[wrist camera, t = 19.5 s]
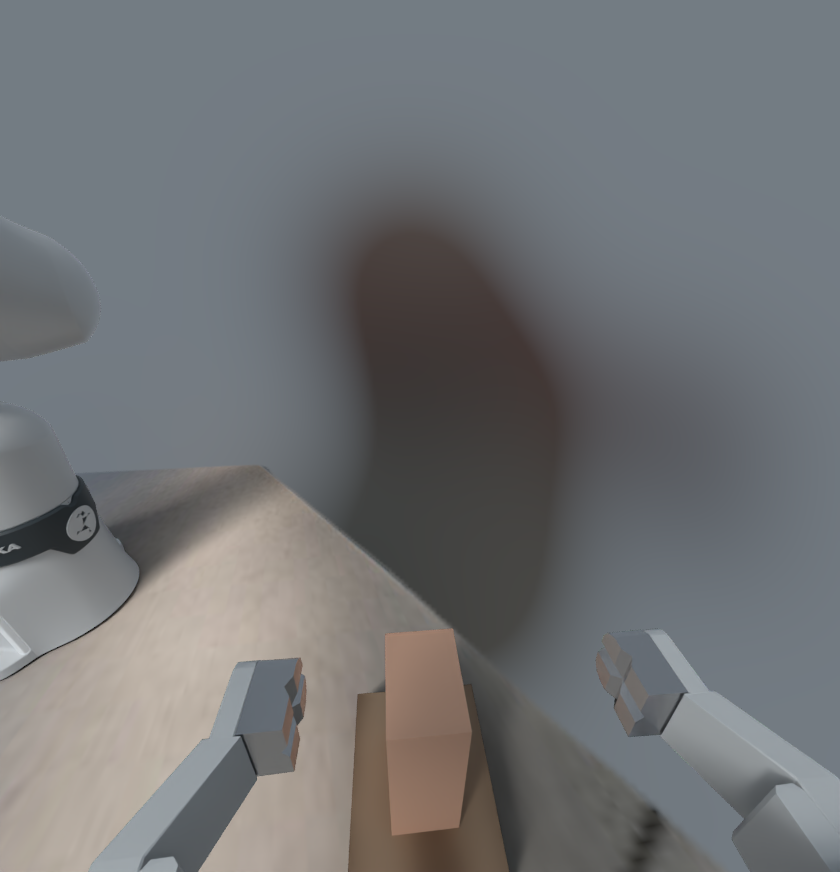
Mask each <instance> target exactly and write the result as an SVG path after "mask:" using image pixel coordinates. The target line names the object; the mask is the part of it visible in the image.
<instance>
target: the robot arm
mask: <svg viewBox="0 0 840 872" xmlns="http://www.w3.org/2000/svg"><path fill="white" fill-rule="evenodd" d="M100 312H101V311H100V299H99V294H98V291H97V288H96V286H95V284H94V281H93V280H92V278H91V276H90V275H89V273H88V271H87V270H86V269H85V267H84V266H83V265H82V264H81V263H80V262H79V260H78V259H77V258H76V257H75V256H74V255H73V254H72V253H70V252H69V251H68V250H67V249H65V247H63V246H62V245H60V244H59V243H58V242H56V241H55V240H53V239H52V238H50V237H48V236H47V235H45V234H42V233H39V232H37V231H34V230H31V229H29V228H26V227H24V226H22V225H19V224H17V223H15V222H12V221H11V220H8V219H7V218H5V217H3V216H0V362H1V361H8V360H18V359H27V358H32V357H35V356H39V355H43V354H47V353H51V352H54V351H58V350H62V349H65V348H68V347H71V346H75V345H78V344H81V343H85V342H87V341H88V340H89V339H90V338H91V336H92V335H93V333H94V332H95V330H96V328H97V325H98V322H99V319H100ZM89 491H90V490H89V488H88V486H87V485H85V483H84V481H83V479H82V478H81V477H79V476H77V475H75V473H74V471H73V469H72V467H71V465H70V463H69V461H68V459H67V457H66V455H65V452H64V450H63V448H62V446H61V444H60V442H59V440H58V438H57V436H56V434H55V432H54V430H53V428H52V426H51V424H49V422H48V421H47V420H45V419H44V418H43V417H42V416H40V415H39V414H37V413H35V412H33V411H31V410H29V409H27V408H24V407H22V406H19V405H15V404H11V403H7V402H1V401H0V680H2V679H4V678H6V677H8V676H9V675H11V674H13V673H14V672H16V671H18V670H19V669H21V668H22V667H24V666H25V665H27V664H28V663H30V662H31V661H32V660H34V659H35V658H37V657H38V656H40V655H42V654H44V653H46V652H48V651H50V650H52V649H54V648H57V647H59V646H61V645H63V644H65V643H67V642H69V641H71V640H73V639H75V638H77V637H79V636H81V635H82V634H84V633H86V632H88V631H89V630H91V629H92V628H94V627H95V626H97V625H98V624H100V623H101V622H102V621H104V620H105V619H106V618H108V617H109V616H110V615H111V614H112V613H113V612H115V611H116V610H117V609H118V608H119V607H120V606H121V605H122V604H123V603H124V602H125V600H126V599H127V598H128V597H129V596H130V594H131V593H132V591H133V590H134V588H135V586H136V584H137V581H138V578H139V567H138V565H137V563H136V562H135V561H134V560H133V559H132V558H131V557H130V556H129V555H128V554H127V553H126V552H125V551H124V547H123V544H122V543H121V541H120V540H119V539H118V538H114V536H113V535H112V533H111V532H110V531H109V529H108V528H107V526H106V525H105V523H104V522H103V520H102V519H101V517H100V516H99V514H98V513H97V510H96V505H95V502H94V500H93V498H92V496H91V494H90V492H89ZM602 643H603V644H604V647H603V648H602V649H601V650H600V651H598V654H597V657H596V667H597V672H598V675H599V679H600V681H601V683H602V685H603V687H604V689H605V690H606V691H607V692H608V693H609V694H611V695H612V696H613V697H614V698H615V703H614V709H615V711H616V713H617V715H618V717H619V719H620V721H621V723H622V725H623V727H624V729H625V731H626V733H627V735H628V737H633V736H634V737H635V736H649V735H661V738H662V739H663V740H664V741H665V742H666V743H667V744H668V745H669V746H671V748H672V749H673V750H675V751H676V752H677V753H678V754H679V755H680V756H681V757H682V758H683V759H684V760H685V761H686V762H687V763H688V764H689V765H690V766H691V767H692V768H693V769H694V770H695V771H696V772H697V773H698V774H699V775H700V776H701V777H702V778H703V779H704V780H705V781H706V782H707V783H708V784H710V786H711V787H712V788H713V789H714V790H715V791H716V792H718V794H720V795H721V796H722V797H723V798H724V799H725V800H726V801H727V802H728V803H729V804H730V805H731V806H732V807H733V808H734V809H735V810H736V811H737V812H738V813H739V814H740V815H741V816H742V817H743V818H744V820H743V821H742V823H741V824H740V825H739V826H738V827H737V828H736V829H735V830H734V831H733V835H732V841H733V843H734V845H735V846H736V848H737V850H738V851H739V853H740V855H741V856H742V858H743V860H744V862H745V864H746V865H747V867H748V869H749V870H750V872H840V780H839V779H838V777H837V776H835V775H834V774H833V773H831V772H829V771H828V770H827V769H825V768H824V767H822V766H821V765H819V764H818V763H817V762H815V761H814V760H813V759H811V758H810V757H808V756H807V755H805V754H804V753H803V752H801V751H800V750H798V749H797V748H796V747H794V746H792V745H791V744H789V743H788V742H787V741H786V740H784V739H783V738H781V737H780V736H778V735H777V734H776V733H774V732H773V731H771V730H770V729H768V728H767V727H765V726H764V725H763V724H761V723H760V722H759V721H757V720H756V719H754V718H753V717H751V716H750V715H749V714H747V713H746V712H744V711H743V710H741V709H740V708H739V707H737V706H736V705H734V704H733V703H731V702H730V701H729V700H727V699H726V698H724V697H723V696H721V695H720V694H719V693H717V692H716V691H709V690H708V688H707V687H706V686H705V684H704V683H703V682H702V680H701V679H700V678H699V676H698V675H697V674H696V672H695V671H694V670H693V668H692V667H691V665H690V664H689V663H688V661H687V660H686V659H685V657H684V656H683V655H682V653H681V652H680V651H679V650H678V648H677V647H676V645H675V644H674V643H673V641H672V640H671V638H670V637H669V636H668V634H667V633H666V632H664V631H663V630H662V629H648V630H632V631H622V632H612V633H607V634H605V635H604V637H603V639H602ZM301 671H302V662H301V658H288V659H275V660H262V661H261V660H257V661H246V662H238V663H237V665H236V666H235V668H234V670H233V672H232V675H231V678H230V680H229V683H228V686H227V689H226V692H225V694H224V697H223V700H222V703H221V706H220V709H219V711H218V714H217V717H216V720H215V723H214V726H213V728H212V731H211V734H210V737H209V739H202V740H201V741H200V743H199V744H198V745H197V746H196V747H195V748H194V749H193V750H192V752H191V753H190V754H189V755H188V756H187V757H186V758H185V759H184V761H183V762H182V763H181V764H180V765H179V766H178V767H177V768H176V770H175V771H174V772H173V773H172V774H171V775H170V776H169V777H168V779H167V780H166V781H165V782H164V783H163V784H162V785H161V786H160V788H159V789H158V790H157V791H156V792H155V793H154V794H153V795H152V796H151V798H150V799H149V800H148V801H147V802H146V803H145V804H144V805H143V807H142V808H141V809H140V810H139V811H138V812H137V813H136V814H135V816H134V817H133V818H132V819H131V820H130V821H129V822H128V823H127V825H126V826H125V827H124V828H123V829H122V830H121V831H120V832H119V834H118V835H117V836H116V837H115V838H114V839H113V840H112V841H111V843H110V844H109V845H108V846H107V847H106V848H105V849H104V850H103V852H102V853H101V854H100V855H99V856H98V857H97V858H96V859H95V860H94V862H93V863H92V864H91V867H90V869H89V871H88V872H198V871H199V869H200V868H201V866H202V865H203V863H204V862H205V860H206V858H207V857H208V855H209V854H210V852H211V851H212V849H213V848H214V846H215V844H216V843H217V841H218V840H219V838H220V837H221V835H222V833H223V832H224V830H225V829H226V827H227V826H228V824H229V823H230V821H231V819H232V818H233V816H234V815H235V813H236V812H237V810H238V809H239V807H240V805H241V804H242V802H243V801H244V799H245V798H246V796H247V795H248V793H249V791H250V790H251V788H252V787H253V785H254V784H255V782H256V781H257V776H264V775H272V774H279V773H287V772H294V770H295V764H296V758H297V753H298V747H299V741H300V736H299V732H298V728H297V725H298V724H299V723H300V721H301V720H302V719H303V717H304V711H305V704H306V680H305V676H304V675H302V674H301Z"/></svg>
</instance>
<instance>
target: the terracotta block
mask: <svg viewBox="0 0 840 872" xmlns="http://www.w3.org/2000/svg"><path fill="white" fill-rule="evenodd" d="M385 678H386V749H387V765H388V782H389V798H390V815H391V831H392V836H394V835H402V834H410V833H419V832H427V831H435V830H443V829H452V828H459V825H460V817H461V810H462V802H463V795H464V788H465V780H466V773H467V765H468V758H469V751H470V743H471V736H472V729H471V724H470V718H469V713H468V708H467V702H466V697H465V691H464V686H463V680H462V675H461V670H460V664H459V659H458V653H457V648H456V642H455V637H454V632H453V628H452V629H439V630H426V631H413V632H400V633H387V634H385Z"/></svg>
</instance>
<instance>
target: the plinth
mask: <svg viewBox="0 0 840 872" xmlns="http://www.w3.org/2000/svg"><path fill="white" fill-rule="evenodd" d="M463 686H464V691H465V697H466V702H467V708H468V713H469V718H470V724H471V729H472V736H471V743H470V751H469V758H468V765H467V773H466V780H465V788H464V795H463V802H462V810H461V817H460V825H459V828H452V829H443V830H435V831H427V832H419V833H410V834H402V835H394V836H392V831H391V815H390V798H389V782H388V765H387V749H386V692H377V693H365V694H358V699H357V717H356V735H355V754H354V772H353V790H352V808H351V826H350V845H349V863H348V872H509V868H508V863H507V858H506V853H505V848H504V843H503V838H502V833H501V828H500V824H499V819H498V814H497V809H496V804H495V799H494V794H493V789H492V784H491V779H490V774H489V769H488V764H487V759H486V754H485V749H484V744H483V739H482V734H481V729H480V724H479V719H478V714H477V709H476V705H475V700H474V695H473V690H472V685H471V684H468V685H463Z"/></svg>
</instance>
